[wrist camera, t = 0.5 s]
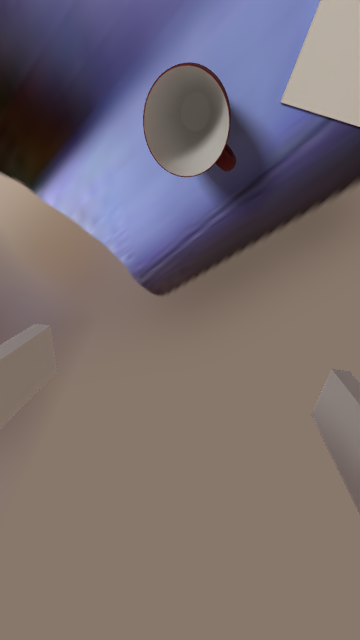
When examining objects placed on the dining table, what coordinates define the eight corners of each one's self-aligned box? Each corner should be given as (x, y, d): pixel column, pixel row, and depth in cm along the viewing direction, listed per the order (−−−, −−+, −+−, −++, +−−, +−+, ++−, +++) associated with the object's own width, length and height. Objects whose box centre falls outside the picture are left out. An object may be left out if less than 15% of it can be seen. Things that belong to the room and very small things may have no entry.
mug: (260, 113, 27) (271, 130, 21) (217, 177, 33) (214, 207, 26) (185, 39, 24) (169, 32, 17) (151, 125, 29) (129, 144, 23)
